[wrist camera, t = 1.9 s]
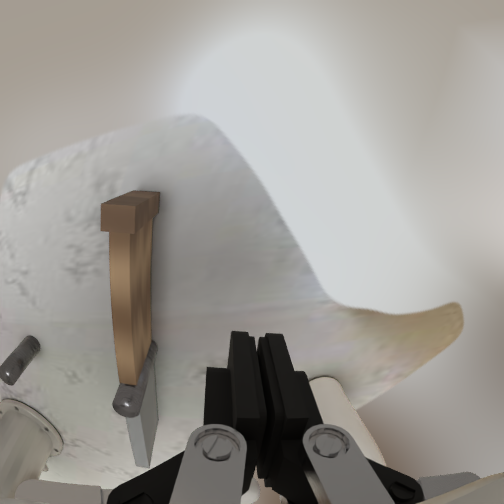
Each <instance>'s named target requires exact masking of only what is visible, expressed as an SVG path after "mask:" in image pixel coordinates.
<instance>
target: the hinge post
mask: <svg viewBox="0 0 504 504" xmlns="http://www.w3.org/2000/svg"><path fill="white" fill-rule="evenodd" d="M157 351H158V347H157V344H156V343H155V342H154V341H153V340H151V344H150V347H149V350H148V353H147V356H146V359H145V362H144V365H143V368H142V371H141V374H140V377H139V380H138V383H137V386H136V385H130V384H124V383H120V385H119V387H118V390H117V393H116V395H115V398H114V400H113V404H112V405H113V408H114V410H115V411H116V412H117V413H118V414H120V415H122V416H124V417H127V418H134V417H137V416H138V415H139V413H140V410H141V406H142V403H143V399H144V395H145V392H146V388H147V385H148V381H149V378H150V374H151V371H152V368H153V364H154V361H155V358H156V354H157Z"/></svg>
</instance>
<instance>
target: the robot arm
mask: <svg viewBox="0 0 504 504" xmlns="http://www.w3.org/2000/svg"><path fill="white" fill-rule="evenodd" d="M62 448H63V442H62V439H61V437H60V435H59V434H58V432H57V431H56V430H55V428H54V427H53V426H52V425H51V424H50V423H49V422H48V421H47V420H46V419H45V418H44V417H43V416H42V415H40V414H39V413H38V412H36V411H35V410H33V409H32V408H30V407H29V406H27V405H25V404H23V403H20V402H18V401H15V400H10V399H6V400H2V401H1V402H0V504H241V496H242V495H244V494H245V493H246V492H247V491H248V490H249V488H250V484H251V481H252V478H253V475H254V471H255V467H256V466H257V475H258V478H260V479H264V482H265V487H272V490H274V491H275V492H277V493H278V494H280V501H281V504H504V472H503V473H498V474H494V475H491V476H487V477H485V478H480V477H479V476H477V475H476V474H473V473H471V472H463V473H456V474H448V475H440V476H430V477H420V478H419V479H418V480H415V479H413V478H411V477H409V476H407V475H404V474H402V473H400V472H398V471H395V470H393V469H391V468H388V467H386V466H384V465H382V464H379V463H377V462H375V461H373V460H371V459H368V458H366V457H365V456H364V454H363V453H362V451H361V450H360V448H359V446H358V445H357V443H356V442H355V440H354V439H353V437H352V436H351V435H350V434H349V432H347V431H346V430H344V429H343V428H341V427H338V426H336V425H331V424H324V423H323V420H322V417H321V415H320V412H319V409H318V406H317V403H316V401H315V398H314V395H313V392H312V389H311V387H310V384H309V381H308V378H307V375H306V373H305V372H304V371H294V368H293V365H292V362H291V359H290V355H289V352H288V349H287V346H286V343H285V340H284V336H283V334H273V333H266V334H265V337H260V338H259V341H258V348H257V351H256V345H255V338H254V337H252V336H249V334H248V332H240V331H232V332H231V339H230V348H229V357H228V366H227V368H214V367H207V372H206V388H205V406H204V426H202V427H199V428H197V429H196V430H195V431H194V432H192V433H191V435H190V437H189V439H188V442H187V446H186V449H185V451H183V452H181V453H179V454H178V455H176V456H174V457H172V458H171V459H169V460H167V461H165V462H164V463H162V464H160V465H158V466H156V467H154V468H152V469H151V470H149V471H147V472H145V473H143V474H141V475H139V476H137V477H135V478H133V479H131V480H129V481H127V482H125V483H123V484H121V485H119V486H118V487H116V488H115V489H113V490H112V489H101V487H100V486H90V485H78V484H67V483H59V482H51V481H44V480H39V477H40V475H41V472H42V470H43V471H45V472H46V471H48V466H47V465H46V462H47V460H48V457H49V456H57V455H59V454H60V453H61V451H62Z"/></svg>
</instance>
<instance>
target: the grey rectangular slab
mask: <svg viewBox="0 0 504 504" xmlns="http://www.w3.org/2000/svg"><path fill="white" fill-rule="evenodd" d="M126 422H127V428H128V432H129V437H130V442H131V446H132V451H133V455H134V459H135V463H136V466H139V467H145V468H150V462H151V456H152V451H153V445H154V440H155V435H156V430H157V425H158V410H157V398H156V384H155V367H154V364H153V368H152V371H151V374H150V378H149V381H148V385H147V388H146V392H145V395H144V399H143V403H142V406H141V410H140V413H139V415H138V416H137V417H134V418H127V417H126Z"/></svg>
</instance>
